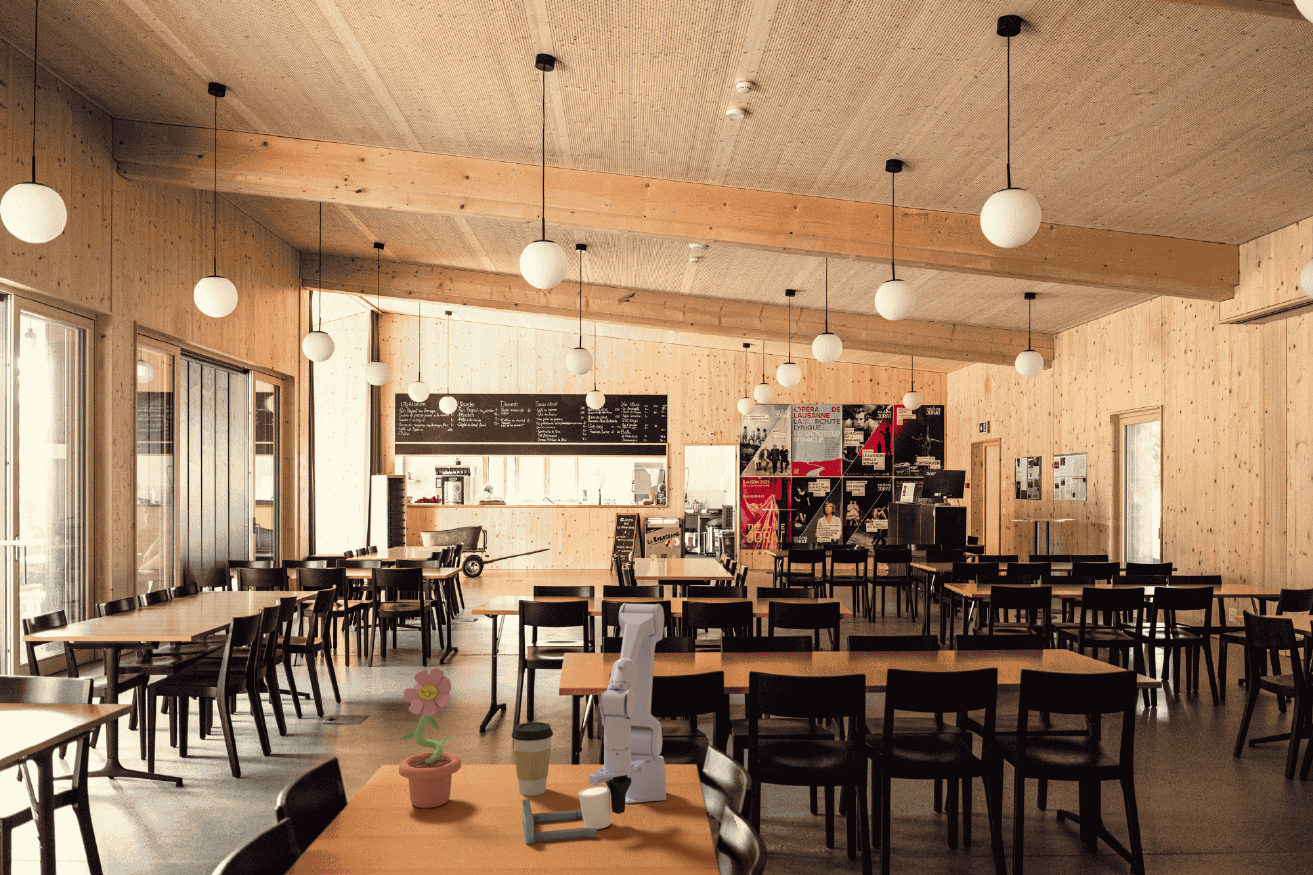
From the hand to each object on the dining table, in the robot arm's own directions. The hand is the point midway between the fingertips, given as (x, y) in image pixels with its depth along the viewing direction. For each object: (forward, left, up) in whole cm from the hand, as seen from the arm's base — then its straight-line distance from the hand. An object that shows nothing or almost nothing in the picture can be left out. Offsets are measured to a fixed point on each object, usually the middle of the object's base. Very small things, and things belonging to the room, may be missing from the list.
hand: (618, 812), depth 187 cm
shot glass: (+4, -1, -3) cm, 5 cm away
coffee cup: (+16, -25, -3) cm, 30 cm away
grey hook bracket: (+13, 0, -3) cm, 14 cm away
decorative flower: (+40, -23, -3) cm, 47 cm away
